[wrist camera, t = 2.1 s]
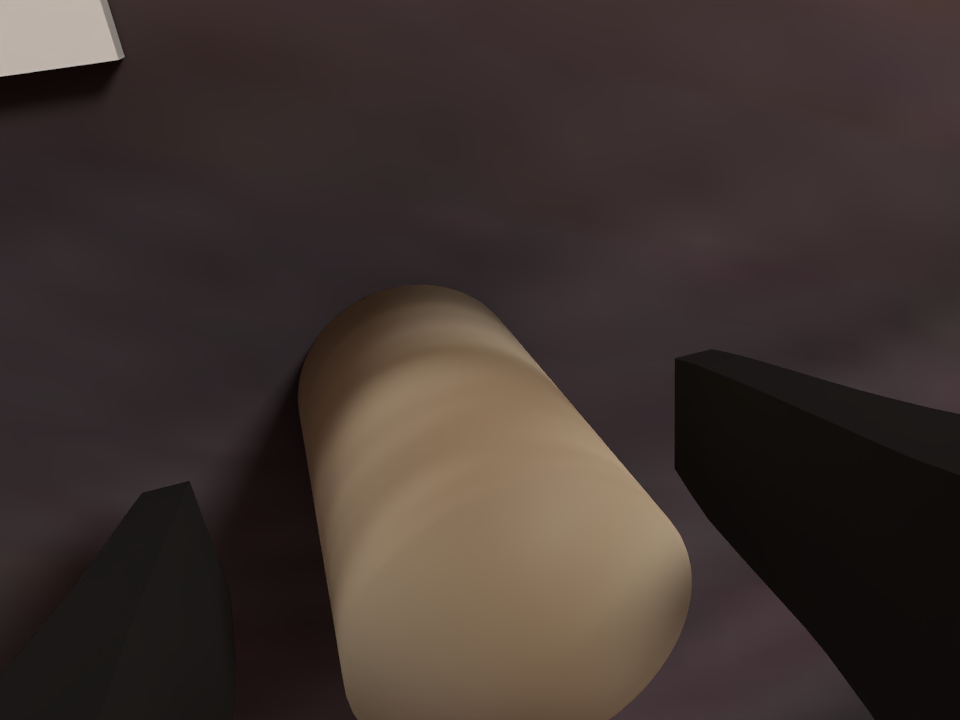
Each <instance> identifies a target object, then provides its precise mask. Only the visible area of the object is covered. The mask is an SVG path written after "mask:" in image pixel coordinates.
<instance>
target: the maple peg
mask: <svg viewBox="0 0 960 720" xmlns="http://www.w3.org/2000/svg"><path fill="white" fill-rule="evenodd" d="M298 409H299V415H300V421H301V427H302V433H303V439H304V445H305V452H306V458H307V464H308V470H309V476H310V482H311V488H312V494H313V500H314V506H315V512H316V519H317V525H318V531H319V537H320V543H321V549H322V555H323V561H324V567H325V573H326V579H327V586H328V592H329V598H330V604H331V610H332V616H333V622H334V628H335V634H336V640H337V646H338V653H339V659H340V665H341V671H342V677H343V682H344V688H345V693H346V697H347V700H348V702H349V705H350V707H351V710H352V712H353V714H354V715H355V717H356V718H357V720H609V719H610V718H612V717H613V716H615V715H616V714H617V713H618V712H620V711H621V710H622V709H623V708H624V707H625V706H626V705H628V704H629V703H630V702H631V701H632V700H633V699H634V698H635V697H636V696H637V695H638V694H639V693H640V692H641V691H642V690H643V689H644V688H645V687H646V686H647V685H648V684H649V682H650V681H651V680H652V679H653V677H654V676H655V675H656V674H657V672H658V671H659V670H660V669H661V667H662V666H663V664H664V662H665V661H666V659H667V658H668V656H669V655H670V653H671V652H672V650H673V648H674V646H675V644H676V642H677V640H678V638H679V636H680V633H681V631H682V628H683V625H684V623H685V620H686V617H687V613H688V608H689V604H690V598H691V587H692V578H691V566H690V561H689V557H688V553H687V550H686V547H685V545H684V543H683V541H682V538H681V536H680V534H679V533H678V531H677V530H676V528H675V527H674V525H673V524H672V523H671V521H670V520H669V519H668V518H667V516H666V515H665V514H664V513H663V512H662V510H661V509H660V508H659V507H658V506H657V505H656V503H655V502H654V501H653V500H652V499H651V497H650V496H649V495H648V494H647V493H646V492H645V490H644V489H643V488H642V487H641V486H640V485H639V483H638V482H637V481H636V480H635V479H634V477H633V476H632V475H631V474H630V473H629V472H628V470H627V469H626V468H625V467H624V466H623V464H622V463H621V462H620V461H619V460H618V459H617V457H616V456H615V455H614V454H613V453H612V451H611V450H610V449H609V448H608V447H607V446H606V444H605V443H604V442H603V441H602V440H601V438H600V437H599V436H598V435H597V434H596V433H595V431H594V430H593V429H592V428H591V427H590V425H589V424H588V423H587V422H586V421H585V420H584V418H583V417H582V416H581V415H580V414H579V412H578V411H577V410H576V409H575V408H574V407H573V405H572V404H571V403H570V402H569V401H568V400H567V398H566V397H565V396H564V395H563V394H562V392H561V391H560V390H559V389H558V388H557V387H556V385H555V384H554V383H553V382H552V381H551V379H550V378H549V377H548V376H547V375H546V374H545V372H544V371H543V370H542V369H541V368H540V366H539V365H538V364H537V363H536V362H535V361H534V359H533V358H532V357H531V356H530V355H529V353H528V352H527V351H526V350H525V349H524V348H523V346H522V345H521V344H520V343H519V342H518V340H517V339H516V338H515V337H514V336H513V335H512V333H511V332H510V331H509V330H508V329H507V327H506V326H505V325H504V324H503V323H502V322H501V320H500V319H499V318H498V317H497V316H496V315H495V314H494V313H493V312H492V311H491V310H490V309H489V308H487V307H486V306H485V305H484V304H482V303H481V302H480V301H478V300H476V299H474V298H473V297H471V296H469V295H467V294H464V293H462V292H459V291H457V290H454V289H450V288H446V287H442V286H434V285H406V286H399V287H393V288H390V289H386V290H383V291H379V292H377V293H374V294H372V295H369V296H367V297H365V298H363V299H361V300H359V301H358V302H356V303H354V304H352V305H351V306H349V307H348V308H347V309H345V310H344V311H343V312H341V313H340V314H338V315H337V316H336V317H335V318H334V319H333V320H332V321H331V322H330V323H329V324H328V325H327V326H326V327H325V328H324V330H323V331H322V332H321V333H320V335H319V336H318V337H317V338H316V340H315V342H314V343H313V345H312V347H311V348H310V350H309V352H308V354H307V357H306V359H305V361H304V364H303V367H302V370H301V374H300V378H299V385H298Z"/></svg>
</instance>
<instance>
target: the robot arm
mask: <svg viewBox="0 0 960 720" xmlns="http://www.w3.org/2000/svg"><path fill="white" fill-rule="evenodd" d="M675 470H676V471H677V473H678V474H679V476H680V478H681V479H682V481H683V482H684V484H685V485H686V487H687V489H688V490H689V492H690V493H691V495H692V496H693V498H694V499H695V501H696V502H697V504H698V505H699V506H700V508H701V509H702V511H703V512H704V514H705V515H706V517H707V518H708V519H709V521H710V522H711V523H712V524H713V525H714V526H715V528H716V529H717V530H718V531H719V532H720V533H721V534H722V536H723V537H724V538H725V539H726V540H727V541H728V542H729V543H730V545H731V546H732V547H733V548H734V549H735V550H736V551H737V552H738V554H739V555H740V556H741V557H742V558H743V559H744V560H745V561H746V563H747V564H748V565H749V566H750V567H751V568H752V569H753V570H754V571H755V572H756V574H757V575H758V576H759V577H760V578H761V579H762V580H763V581H764V582H765V584H766V585H767V586H768V587H769V588H770V589H771V590H772V591H773V592H774V594H775V595H776V596H777V597H778V598H779V599H780V600H781V601H782V602H783V603H784V605H785V606H786V607H787V608H788V609H789V610H790V611H791V612H792V613H793V615H794V616H795V617H796V618H797V619H798V620H799V621H800V622H801V623H802V625H803V626H804V627H805V628H806V629H807V630H808V632H809V633H810V634H811V635H812V636H813V638H814V639H815V640H816V641H817V642H818V644H819V645H820V646H821V647H822V648H823V650H824V651H825V652H826V653H827V655H828V656H829V657H830V659H831V660H832V661H833V663H834V664H835V666H836V667H837V668H838V670H839V671H840V672H841V674H842V675H843V676H844V678H845V679H846V681H847V682H848V683H849V685H850V686H851V687H852V689H853V690H854V691H855V693H856V694H857V696H858V697H859V698H860V700H861V701H862V702H863V704H864V705H865V707H866V708H867V709H868V711H869V712H870V713H871V715H872V716H873V718H874V719H875V720H960V414H956V413H951V412H946V411H942V410H937V409H932V408H928V407H924V406H920V405H916V404H912V403H908V402H904V401H900V400H895V399H891V398H887V397H883V396H879V395H876V394H872V393H868V392H865V391H861V390H857V389H854V388H850V387H847V386H843V385H840V384H836V383H833V382H829V381H826V380H822V379H819V378H815V377H812V376H809V375H805V374H802V373H799V372H795V371H792V370H789V369H785V368H782V367H779V366H775V365H772V364H768V363H765V362H761V361H758V360H754V359H751V358H747V357H743V356H740V355H736V354H731V353H727V352H722V351H717V350H711V349H710V350H707V351H703V352H699V353H695V354H691V355H687V356H683V357H679V358H675ZM235 662H236V661H235V646H234V631H233V619H232V607H231V595H230V592H229V589H228V587H227V584H226V581H225V578H224V575H223V573H222V570H221V567H220V564H219V562H218V559H217V556H216V553H215V550H214V548H213V545H212V542H211V539H210V537H209V534H208V531H207V528H206V525H205V523H204V520H203V517H202V514H201V511H200V509H199V506H198V503H197V500H196V498H195V495H194V492H193V489H192V486H191V484H190V481H188V482H184V483H180V484H176V485H172V486H168V487H164V488H160V489H156V490H152V491H148V492H144V493H142V494H141V495H140V497H139V498H138V499H137V500H136V502H135V503H134V504H133V506H132V507H131V509H130V510H129V511H128V513H127V514H126V516H125V517H124V518H123V520H122V521H121V523H120V524H119V525H118V527H117V528H116V530H115V531H114V532H113V534H112V535H111V537H110V538H109V539H108V541H107V542H106V543H105V545H104V546H103V548H102V549H101V550H100V552H99V553H98V555H97V556H96V557H95V559H94V560H93V561H92V563H91V564H90V565H89V567H88V568H87V569H86V571H85V572H84V573H83V575H82V576H81V577H80V579H79V580H78V581H77V583H76V584H75V585H74V587H73V588H72V589H71V591H70V592H69V593H68V595H67V596H66V597H65V599H64V600H63V601H62V602H61V604H60V605H59V606H58V607H57V608H56V610H55V611H54V612H53V613H52V614H51V616H50V617H49V618H48V619H47V620H46V622H45V623H44V624H43V625H42V627H41V628H40V629H39V630H38V631H37V633H36V634H35V635H34V636H33V637H32V639H31V640H30V641H29V642H28V643H27V645H26V646H25V647H24V648H23V650H22V651H21V652H20V653H19V654H18V656H17V657H16V658H15V659H14V660H13V662H12V663H11V664H10V665H9V666H8V667H7V668H6V670H5V671H4V672H3V673H2V674H1V675H0V720H233V703H234V684H235Z"/></svg>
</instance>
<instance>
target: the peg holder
mask: <svg viewBox="0 0 960 720" xmlns="http://www.w3.org/2000/svg"><path fill="white" fill-rule="evenodd" d="M122 58H124V54H123V50H122V47H121V44H120V41H119V37H118V34H117V31H116V28H115V24H114V21H113V18H112V15H111V11H110V8H109V5H108V2H107V0H0V77H2V76H9V75H16V74H23V73H30V72H37V71H44V70H51V69H58V68H65V67H72V66H79V65H86V64H94V63H101V62H108V61H115V60H120V59H122Z"/></svg>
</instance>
